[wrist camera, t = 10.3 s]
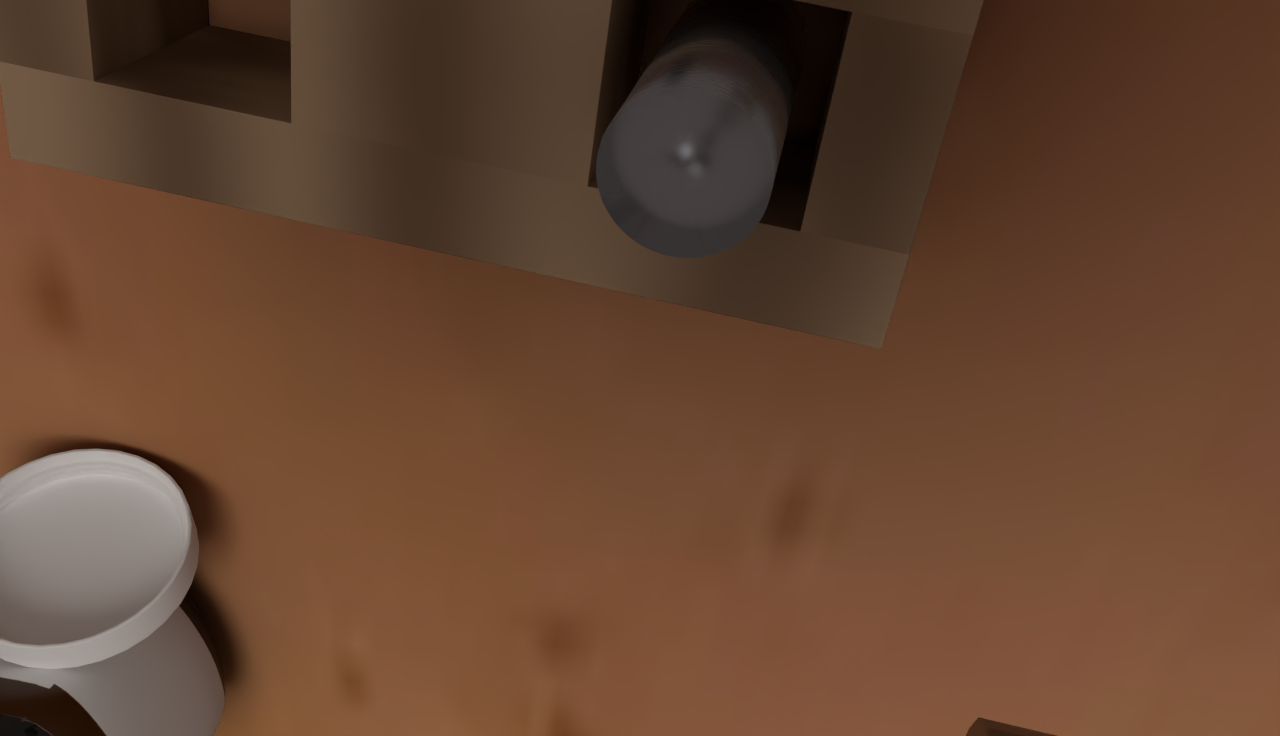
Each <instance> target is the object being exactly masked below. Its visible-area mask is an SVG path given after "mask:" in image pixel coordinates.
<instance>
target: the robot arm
mask: <svg viewBox="0 0 1280 736" xmlns="http://www.w3.org/2000/svg"><path fill="white" fill-rule="evenodd" d="M966 736H1056V735H1052V734H1048V733H1043V732H1039V731H1035V730H1031V729H1026V728H1022V727H1018V726H1013V725H1009V724H1005V723H1001V722H996V721H992V720H988V719H984V718H979V717H978V718H977V720H976V721H975V722H974V723H973V724H972V726H971V727H970V728H969V730H968V732H967V735H966Z"/></svg>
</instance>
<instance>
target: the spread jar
mask: <svg viewBox="0 0 1280 736" xmlns="http://www.w3.org/2000/svg"><path fill="white" fill-rule="evenodd" d="M198 556H199V541H198V535H197V528H196V525H195V522H194V519H193V516H192V513H191V510H190V507H189V504H188V502H187V500H186V498H185V495H184V493H183V491H182V489H181V488H180V487H179V485H178V484H177V483H176V482H175V480H174V479H173V478H172V476H170V475H169V474H168V473H167V472H165V471H164V470H163V469H162V468H160V467H159V466H158V465H156V464H154V463H152V462H150V461H148V460H146V459H144V458H142V457H140V456H137V455H134V454H130V453H126V452H123V451H119V450H109V449H99V448H94V449H76V450H70V451H65V452H60V453H55V454H50V455H48V456H45V457H42V458H39V459H36V460H33V461H30V462H28V463H26V464H24V465H22V466H20V467H18V468H16V469H14V470H12V471H10V472H8V473H7V474H5V475H4V476H2V477H1V478H0V736H213V735H214V733H215V731H216V729H217V727H218V725H219V723H220V720H221V717H222V714H223V710H224V706H225V684H224V677H223V672H222V668H221V664H220V660H219V656H218V652H217V649H216V646H215V643H214V641H213V638H212V636H211V634H210V632H209V630H208V628H207V626H206V624H205V622H204V620H203V618H202V616H201V615H200V613H199V611H198V610H197V609H196V607H195V606H194V604H193V603H192V602H191V600H190V599H189V598H188V596H187V595H186V593H187V591H188V590H189V588H190V586H191V584H192V581H193V578H194V575H195V572H196V569H197V566H198Z"/></svg>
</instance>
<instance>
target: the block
mask: <svg viewBox="0 0 1280 736" xmlns="http://www.w3.org/2000/svg"><path fill="white" fill-rule="evenodd" d="M794 1H800V2H805V3H810V4H815V5H820V6H825V7H830V8H835V9H840V10H846V11H847V16H846V20H845V24H844V28H843V33H842V37H841V41H840V46H839V50H838V54H837V58H836V63H835V67H834V71H833V75H832V80H831V84H830V88H829V92H828V97H827V101H826V105H825V109H824V114H823V118H822V122H821V126H820V131H819V135H818V139H817V143H816V148H815V151H814V150H809V149H804V148H800V147H795V146H790V145H785V144H783V148H782V152H781V156H780V160H779V164H778V168H777V172H776V176H775V180H774V184H773V188H772V192H771V196H770V199H769V203H768V206H767V208H766V210H765V212H764V215H763V216H762V218H761V220H760V221H759V223H758V224H757V226H756V227H755V228H754V229H753V230H752V231H751V233H750V234H748V235H747V236H746V237H745V238H744V239H743V240H742V241H740V242H739V243H737V244H736V245H734V246H733V247H731V248H729V249H727V250H725V251H723V252H720V253H717V254H714V255H710V256H706V257H699V258H678V257H671V256H667V255H663V254H660V253H657V252H654V251H652V250H650V249H647V248H645V247H644V246H642V245H640V244H638V243H637V242H635V241H634V240H633V239H631V238H630V237H629V236H628V235H626V234H625V233H624V232H623V231H622V230H621V229H620V228H619V227H618V225H617V224H616V223H615V222H614V221H613V219H612V218H611V216H610V215H609V213H608V212H607V210H606V208H605V206H604V204H603V201H602V199H601V196H600V193H599V189H598V184H597V178H596V159H597V154H598V149H599V145H600V143H601V140H602V137H603V135H604V133H605V131H606V129H607V127H608V126H609V124H610V123H611V121H612V120H613V118H614V117H615V115H616V114H617V112H618V111H619V109H620V108H621V106H622V105H623V103H624V102H625V100H626V99H627V97H628V96H629V94H630V93H631V91H632V90H633V88H634V87H635V85H636V84H637V82H638V77H639V70H640V63H641V56H642V50H643V43H644V36H645V29H646V23H647V16H648V9H649V3H650V0H291V42H286V41H281V40H276V39H272V38H267V37H262V36H257V35H252V34H247V33H243V32H238V31H233V30H228V29H223V28H218V27H213V26H209V23H208V0H0V84H1V91H2V98H3V106H4V113H5V120H6V128H7V135H8V142H9V150H10V157H11V158H14V159H18V160H23V161H27V162H32V163H36V164H41V165H46V166H50V167H55V168H59V169H64V170H68V171H73V172H77V173H82V174H86V175H91V176H96V177H100V178H105V179H109V180H114V181H118V182H123V183H127V184H132V185H136V186H141V187H146V188H150V189H155V190H159V191H164V192H168V193H173V194H177V195H182V196H186V197H191V198H196V199H200V200H205V201H209V202H214V203H218V204H223V205H227V206H232V207H236V208H241V209H246V210H250V211H255V212H259V213H264V214H268V215H273V216H277V217H282V218H287V219H291V220H296V221H300V222H305V223H309V224H314V225H318V226H323V227H327V228H332V229H337V230H341V231H346V232H350V233H355V234H359V235H364V236H368V237H373V238H377V239H382V240H387V241H391V242H396V243H400V244H405V245H409V246H414V247H418V248H423V249H427V250H432V251H437V252H441V253H446V254H450V255H455V256H459V257H464V258H468V259H473V260H477V261H482V262H487V263H491V264H496V265H500V266H505V267H509V268H514V269H518V270H523V271H527V272H532V273H537V274H541V275H546V276H550V277H555V278H559V279H564V280H568V281H573V282H578V283H582V284H587V285H591V286H596V287H600V288H605V289H609V290H614V291H618V292H623V293H628V294H632V295H637V296H641V297H646V298H650V299H655V300H659V301H664V302H668V303H673V304H678V305H682V306H687V307H691V308H696V309H700V310H705V311H709V312H714V313H718V314H723V315H728V316H732V317H737V318H741V319H746V320H750V321H755V322H759V323H764V324H768V325H773V326H778V327H782V328H787V329H791V330H796V331H800V332H805V333H809V334H814V335H818V336H823V337H828V338H832V339H837V340H841V341H846V342H850V343H855V344H859V345H864V346H869V347H873V348H878V349H882V346H883V343H884V339H885V336H886V333H887V329H888V326H889V322H890V319H891V316H892V312H893V309H894V305H895V302H896V298H897V295H898V292H899V288H900V285H901V281H902V278H903V275H904V271H905V268H906V264H907V261H908V257H909V254H910V251H911V247H912V244H913V240H914V237H915V234H916V230H917V227H918V223H919V220H920V216H921V213H922V210H923V206H924V203H925V199H926V196H927V193H928V189H929V186H930V182H931V179H932V175H933V172H934V169H935V165H936V162H937V158H938V155H939V152H940V148H941V145H942V141H943V138H944V135H945V131H946V128H947V124H948V121H949V117H950V114H951V111H952V107H953V104H954V100H955V97H956V94H957V90H958V87H959V83H960V80H961V76H962V73H963V70H964V66H965V63H966V59H967V56H968V53H969V49H970V46H971V42H972V39H973V35H974V32H975V29H976V25H977V22H978V18H979V15H980V12H981V8H982V5H983V1H984V0H794Z"/></svg>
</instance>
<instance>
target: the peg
mask: <svg viewBox="0 0 1280 736" xmlns="http://www.w3.org/2000/svg"><path fill="white" fill-rule="evenodd" d="M807 41H808V36H807V28H806V24H805V20H804V17H803V14H802V12H801V10H800V8H799V6H798V5H797V3H796V2H795V1H794V0H692V1H691V2H690V4H689V5H688V7H687V8H686V10H685V11H684V13H683V14H682V16H681V17H680V19H679V20H678V22H677V23H676V25H675V26H674V28H673V29H672V31H671V32H670V34H669V35H668V37H667V38H666V40H665V41H664V43H663V44H662V46H661V47H660V49H659V50H658V52H657V53H656V55H655V56H654V58H653V59H652V61H651V62H650V64H649V65H648V67H647V68H646V70H645V71H644V73H643V74H642V76H641V78H640V79H639V81H638V82H637V84H636V85H635V87H634V88H633V90H632V91H631V93H630V94H629V96H628V97H627V99H626V100H625V102H624V103H623V105H622V106H621V108H620V109H619V111H618V112H617V114H616V115H615V117H614V118H613V120H612V121H611V123H610V124H609V126H608V127H607V129H606V131H605V133H604V135H603V137H602V140H601V143H600V145H599V149H598V154H597V159H596V178H597V184H598V189H599V193H600V196H601V199H602V201H603V204H604V206H605V208H606V210H607V212H608V213H609V215H610V216H611V218H612V219H613V221H614V222H615V223H616V224H617V225H618V227H619V228H620V229H621V230H622V231H623V232H624V233H625V234H626V235H628V236H629V237H630V238H631V239H633V240H634V241H635V242H637V243H638V244H640V245H642V246H644V247H645V248H647V249H650V250H652V251H654V252H657V253H660V254H663V255H667V256H671V257H678V258H699V257H706V256H710V255H714V254H717V253H720V252H723V251H725V250H727V249H729V248H731V247H733V246H734V245H736V244H737V243H739V242H740V241H742V240H743V239H744V238H745V237H746V236H747V235H748V234H750V233H751V231H752V230H753V229H754V228H755V227H756V226H757V224H758V223H759V221H760V220H761V218H762V216H763V215H764V212H765V210H766V208H767V206H768V203H769V199H770V196H771V192H772V188H773V184H774V180H775V176H776V172H777V168H778V164H779V160H780V156H781V152H782V148H783V144H784V140H785V136H786V132H787V128H788V124H789V120H790V116H791V112H792V108H793V104H794V100H795V96H796V92H797V88H798V84H799V80H800V76H801V72H802V68H803V64H804V60H805V56H806V51H807Z"/></svg>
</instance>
